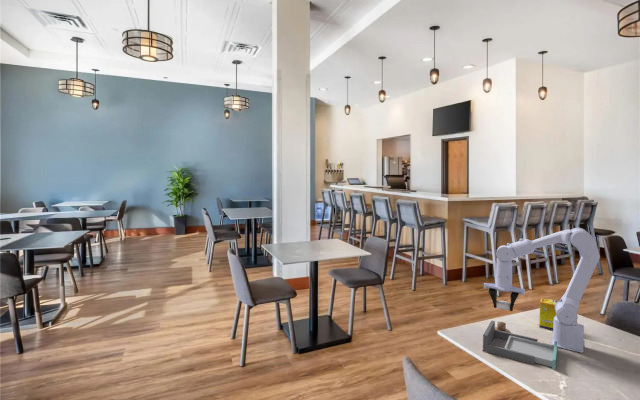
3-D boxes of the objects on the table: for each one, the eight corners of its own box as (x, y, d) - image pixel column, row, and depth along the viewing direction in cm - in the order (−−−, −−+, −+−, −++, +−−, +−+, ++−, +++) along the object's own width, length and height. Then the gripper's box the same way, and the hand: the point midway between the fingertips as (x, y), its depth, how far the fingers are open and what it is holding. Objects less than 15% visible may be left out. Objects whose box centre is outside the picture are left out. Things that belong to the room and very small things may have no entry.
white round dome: (511, 307, 138) (511, 302, 138) (509, 311, 134) (509, 306, 134) (497, 304, 141) (497, 299, 141) (494, 308, 137) (495, 303, 137)
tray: (557, 350, 123) (557, 341, 123) (555, 369, 111) (555, 360, 110) (510, 339, 132) (510, 330, 132) (503, 356, 120) (503, 347, 119)
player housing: (537, 346, 127) (537, 330, 127) (533, 364, 114) (534, 347, 114) (491, 335, 136) (491, 320, 136) (482, 351, 123) (483, 334, 123)
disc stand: (510, 330, 140) (510, 322, 140) (508, 336, 135) (508, 327, 135) (494, 327, 144) (494, 319, 144) (491, 332, 139) (492, 323, 139)
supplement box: (539, 322, 148) (540, 297, 148) (556, 325, 145) (557, 300, 144) (538, 327, 144) (539, 301, 143) (556, 330, 140) (557, 304, 140)
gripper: (482, 274, 138) (481, 307, 139) (523, 281, 130) (522, 316, 130) (485, 271, 144) (485, 302, 145) (525, 276, 135) (525, 310, 136)
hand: (503, 308), depth 138 cm, fingers closed on white round dome, 5 cm apart
